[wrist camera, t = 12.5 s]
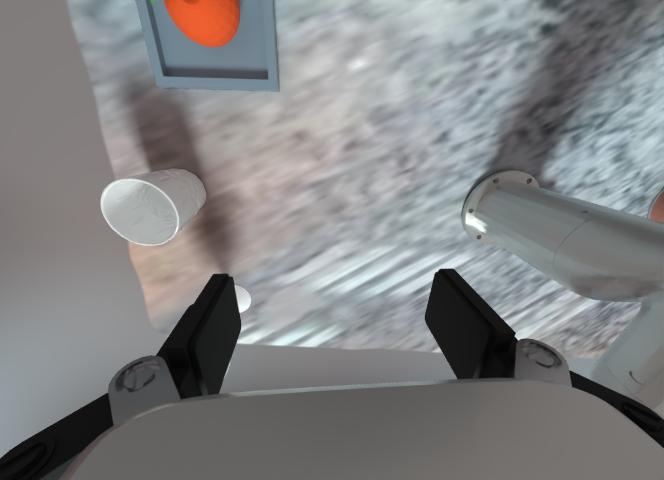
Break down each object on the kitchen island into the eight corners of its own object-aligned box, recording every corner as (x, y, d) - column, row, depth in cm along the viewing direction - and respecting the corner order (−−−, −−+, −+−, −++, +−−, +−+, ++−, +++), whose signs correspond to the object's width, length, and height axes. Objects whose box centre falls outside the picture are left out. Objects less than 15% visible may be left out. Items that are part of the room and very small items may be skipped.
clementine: (187, 60, 29) (152, 42, 23) (161, -20, 26) (112, -66, 20) (254, 50, 29) (238, 29, 23) (236, -31, 26) (212, -80, 20)
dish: (269, -64, 26) (266, -79, 24) (279, 91, 32) (277, 89, 30) (127, -75, 25) (113, -90, 23) (165, 88, 31) (156, 86, 29)
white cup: (141, 184, 35) (83, 205, 26) (180, 152, 34) (133, 162, 25) (184, 226, 38) (146, 257, 29) (222, 197, 37) (194, 222, 28)
